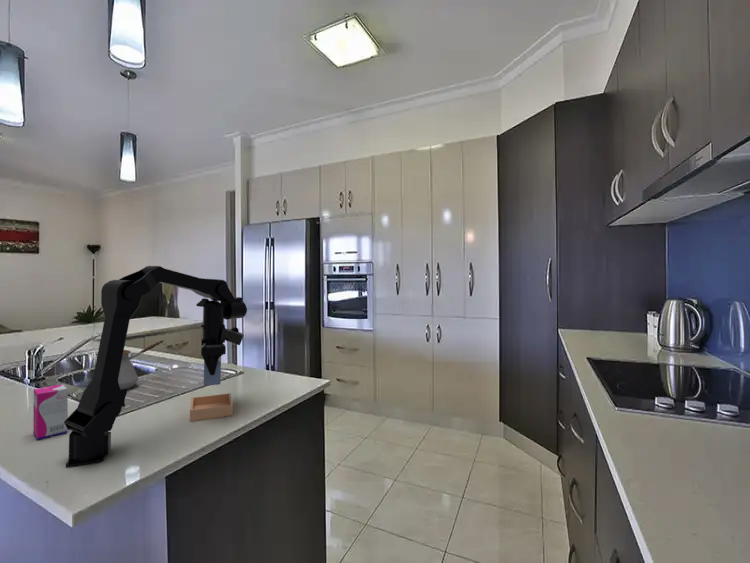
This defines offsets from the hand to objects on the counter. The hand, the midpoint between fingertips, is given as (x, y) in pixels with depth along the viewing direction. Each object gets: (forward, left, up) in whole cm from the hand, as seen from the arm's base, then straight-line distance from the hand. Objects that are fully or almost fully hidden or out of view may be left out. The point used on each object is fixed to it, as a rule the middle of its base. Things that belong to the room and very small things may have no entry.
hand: (212, 372), depth 106 cm
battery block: (0, 0, -3) cm, 3 cm away
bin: (0, 0, -12) cm, 12 cm away
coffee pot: (-25, +37, -12) cm, 46 cm away
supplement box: (-37, -1, -12) cm, 39 cm away
